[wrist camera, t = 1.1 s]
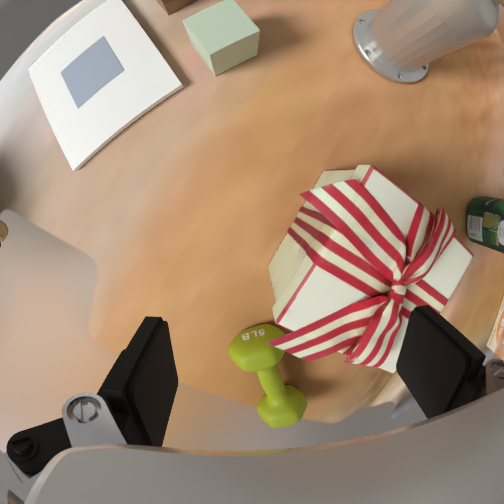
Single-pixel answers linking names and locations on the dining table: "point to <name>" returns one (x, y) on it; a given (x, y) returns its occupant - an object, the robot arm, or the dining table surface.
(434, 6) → the robot arm
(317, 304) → the gift box
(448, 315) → the dining table surface
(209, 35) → the sage block
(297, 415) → the dumbbell
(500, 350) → the coffeecake box
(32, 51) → the dining table surface
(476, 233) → the coffee jar
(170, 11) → the walnut block
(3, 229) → the toy lion
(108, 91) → the board
